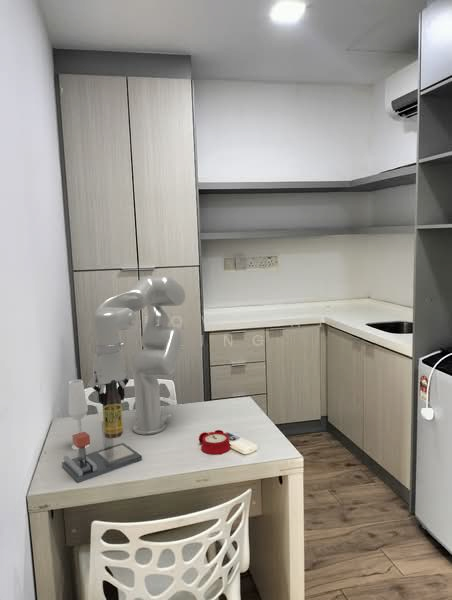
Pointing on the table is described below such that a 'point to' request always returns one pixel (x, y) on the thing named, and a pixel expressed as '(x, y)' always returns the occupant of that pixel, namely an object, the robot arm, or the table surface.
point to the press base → (102, 460)
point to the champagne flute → (77, 403)
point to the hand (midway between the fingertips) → (112, 401)
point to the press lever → (82, 449)
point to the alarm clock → (214, 442)
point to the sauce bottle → (112, 411)
